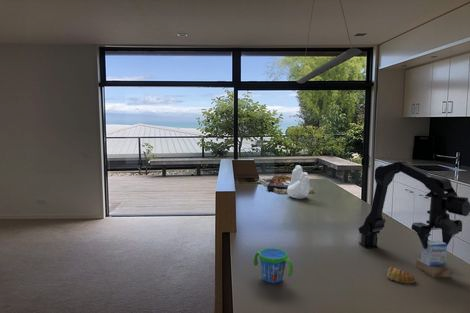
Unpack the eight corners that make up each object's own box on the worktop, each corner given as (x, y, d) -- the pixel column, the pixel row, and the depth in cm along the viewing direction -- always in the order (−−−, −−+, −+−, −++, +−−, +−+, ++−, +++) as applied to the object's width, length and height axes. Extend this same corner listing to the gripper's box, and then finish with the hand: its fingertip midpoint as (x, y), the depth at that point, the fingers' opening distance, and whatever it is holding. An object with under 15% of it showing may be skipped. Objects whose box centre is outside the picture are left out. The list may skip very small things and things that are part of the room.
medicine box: (428, 266, 135) (430, 245, 134) (420, 261, 139) (422, 241, 138) (445, 265, 136) (447, 243, 135) (436, 260, 141) (438, 239, 140)
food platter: (297, 193, 281) (298, 180, 280) (267, 190, 286) (268, 178, 285) (299, 182, 324) (300, 171, 323) (273, 180, 330) (274, 169, 328)
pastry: (415, 279, 131) (416, 270, 131) (413, 286, 125) (414, 276, 125) (388, 273, 136) (389, 264, 135) (385, 280, 130) (386, 270, 130)
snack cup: (247, 277, 129) (247, 251, 128) (264, 268, 137) (265, 244, 136) (281, 292, 119) (282, 263, 118) (298, 282, 126) (299, 255, 125)
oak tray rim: (276, 193, 277) (277, 190, 276) (258, 182, 327) (259, 178, 327) (314, 192, 283) (314, 189, 283) (290, 181, 334) (290, 178, 334)
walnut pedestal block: (433, 279, 133) (434, 269, 132) (416, 268, 142) (417, 258, 142) (449, 278, 134) (450, 268, 133) (431, 267, 143) (432, 258, 143)
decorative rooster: (285, 194, 274) (286, 163, 271) (304, 195, 274) (306, 164, 272) (291, 202, 249) (293, 168, 246) (313, 202, 249) (314, 168, 247)
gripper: (433, 216, 125) (430, 257, 127) (476, 214, 129) (472, 254, 131) (412, 208, 136) (409, 246, 138) (451, 207, 140) (448, 244, 142)
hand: (434, 248), depth 137 cm, fingers open, 9 cm apart
